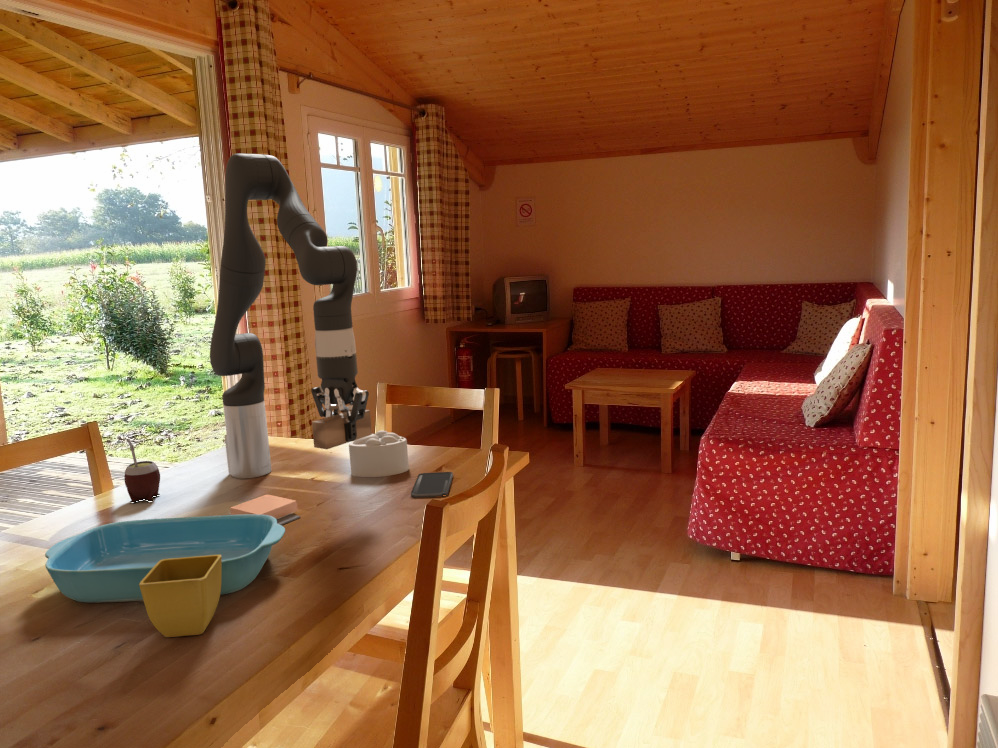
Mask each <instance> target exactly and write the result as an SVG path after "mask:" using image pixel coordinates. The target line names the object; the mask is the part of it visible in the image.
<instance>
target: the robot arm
mask: <svg viewBox="0 0 998 748" xmlns="http://www.w3.org/2000/svg"><path fill="white" fill-rule="evenodd" d="M225 168H226V169H225V177H224V178H225V179H224V207H225V208H224V230H223V231H224V232H223V240H222V241H223V242H222V244H223V245H222V250H221V251H222V252H221V258H220V269H219V285H218V286H219V287H218V297H217V308H216V315H215V320H214V325H213V330H212V335H211V342H210V347H209V361H210V362H209V363H210V366H211V368H212V370H213V373H214V374H216V375H217V376H220V377H231V376H236V375H241V377H240V379H239V380H238V381H237V382H236V383H235V384H234V385H232V386H231V387H229V388H228V389H226V390H224V391H223V393H222V396H221V397H222V406H223V414H224V415H223V416H224V422H225V424H224V425H225V431H226V432H225V433H226V434H224V443H225V452H226V453H225V454H226V460H227V468H228V469H227V470H228V474H229V475H230V476H231V477H232V478H234V479H252V478H257V477H259V478H260V477H262V476H265V475H267V474H270V473H271V472H272V463H271V452H270V442H269V433H268V423H267V412H266V403H265V388H266V385H265V371H264V370H265V368H264V366H265V365H264V352H263V351H264V350H263V347H262V342H261V340H260V339H259V337H258V336H257V335H256V334H255V333H252V332H245V333H237V330H238V327H239V325H240V322H241V321H242V319H243V317H244V316H245V314H246V313H247V311H248V310H249V309H250V308H251V306H252V305H253V304H254V303H255V301H256V300H257V299H258V297H259V296H260V293H261V292H262V289H263V287H264V281H265V272H266V261H267V260H266V255H265V253H264V251H263V249H262V246H261V244H260V243H259V241H258V239H257V237H256V235H255V234H254V232H253V230H252V228H251V226H250V223H249V218H248V205H249V204H248V203H249V201H250V200H251V201H269V200H272V201H274V202H275V203H276V204H277V205H278V206H279V208H278V212H277V218H276V223H277V228H278V231H279V233H280V235H281V236H282V238H283V239H284V241H285V242H286V243H287V244H288V246H289V247H290V249H291V251H293V254H294V257H295V259H296V263H297V265H298V269H299V274H300V275H301V277H302V279H303V280H304V281H305V282H307V283H308V284H310V285H313V286H325V285H327V286H328V285H332V288H331V291H330V293H329V294H328V295H326V296H323V297H321V298H318V299H316V300H314V302H313V320H314V321H313V322H314V329H315V331H314V332H315V333H314V347H315V357H316V370H317V377H318V378H319V379H321V383H320V385H319V386H316V387H312V388H311V389H310V392H311V394H312V397H313V401H314V403H315V407H316V409H317V411H318V415H319V416H320V417H321V418H323V417H324V418H327V417H330V416H334V415H337V414H341V413H342V414H343V418H344V422H345V423H344V428H345V440H346V442H348V443H351V442H353V441H354V440H356V437H357V431H356V421H357V420H359V419H362V418H364V414H365V410H367V404H368V399H369V396H370V395H369V393H370V392H369V391H368V390H365V389H364V390H362V389H361V388H359V387H358V384H357V381H356V377H357V375H358V373H359V372H358V359H357V358H358V357H357V347H356V338H355V334H354V328H353V326H354V325H353V315H352V302H353V297H354V291H355V285H356V281H357V280H356V279H357V275H358V274H357V273H358V263H357V259H356V256H355V254H354V252H353V251H352V250H351V249H350V248H349V247H347V246H344V245H335V246H333V245H332V246H328V235H327V233H326V232H325V230H324V229H323V228H322V227H321V225H320V224H319V223H318V222H317V220H316V219H315V218H314V217H313V215H311V213H310V212H309V210H308V209H307V207H306V206H305V204H304V203H303V201H302V198H301V196H300V195H299V193H298V191H297V189H296V187H295V185H294V183H293V181H292V180H291V177H290V175H289V174H288V172H287V169H286V168H285V166H284V165H283V164H282V162H281V161H280V160H279V159H278V158H277V157H276V156H273V155H269V154H257V153H234V154H232V155H230V157H229V158H228V160H227V163H226V167H225ZM236 333H237V334H236ZM348 411H350V414H351V416H349V412H348ZM358 411H359V412H358ZM340 412H341V413H340Z"/></svg>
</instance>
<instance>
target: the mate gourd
mask: <svg viewBox="0 0 998 748" xmlns="http://www.w3.org/2000/svg"><path fill="white" fill-rule="evenodd" d="M126 442H127V443H128V445H129V451H130V452H131V455H132V460H133V462H132V463H130V464H128V465H127V466H126V468H125V469H124V485H125V488H126V491H127V493H128V495H129V498H130V500H131V501H129V502H136V501H139V500H143V499H145V500H148V501H153V502H154V498H152V497H153V496H157V495H160V493H159V490H160V482H161V472H160V469H159V466H158V465H157V464H156V462H154V461H152V460H143V461H137V458H136V457H137V456H136V454H135V453H136V452H135V447H134V445H133V442H132V441H131V440H130V439H128V438H126ZM160 496H161V495H160Z"/></svg>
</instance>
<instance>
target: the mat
mask: <svg viewBox="0 0 998 748" xmlns="http://www.w3.org/2000/svg"><path fill="white" fill-rule="evenodd" d="M228 515H231V513H230V514H228ZM300 518H301V515H296V514H294V513H292V514H289V515H287V516H284V517H282V518H279V519H277V524H279V525H281V526H283V525H286V524H288V523H290V522H293V521H296V520H298V519H300Z"/></svg>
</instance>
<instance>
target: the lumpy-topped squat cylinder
mask: <svg viewBox="0 0 998 748" xmlns="http://www.w3.org/2000/svg"><path fill="white" fill-rule="evenodd" d="M348 450H349V451H348V452H349V463H350V464H349V465H350V474H351V476H353V477H357V478H358V477H363V478H369V477H370V478H371V477H375V478H377V477H380V478H381V477H388V476H394V475H398V474H402V473H405V472H407V471H410V466H409V465H410V464H409V455H408V453H409V452H408V450H409V449H408V440H407V438H406V437H404V436H400V435H398V434H397V433H395V432H388V431H386V430H383V429H382V430H378V431H376V432H375V433H372V435H369V436H366V437H363V438H360V439H357V440H354V441H351V442H349V444H348Z"/></svg>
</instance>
